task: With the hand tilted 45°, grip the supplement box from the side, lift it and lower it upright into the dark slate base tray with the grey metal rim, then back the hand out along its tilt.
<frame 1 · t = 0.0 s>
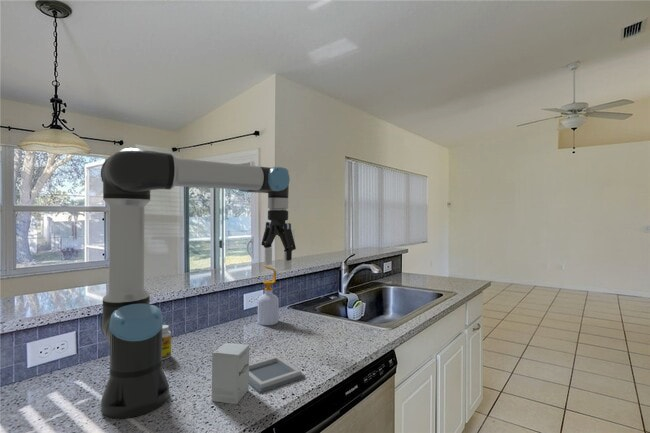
hand: (277, 266, 129), 28 cm above the countertop, tool pointing down, fingers open, 13 cm apart
slate base tray: (269, 374, 104), on the countertop
supplement box: (230, 396, 92), on the countertop
supplement bottle: (161, 358, 115), on the countertop
soap bottle: (268, 322, 152), on the countertop
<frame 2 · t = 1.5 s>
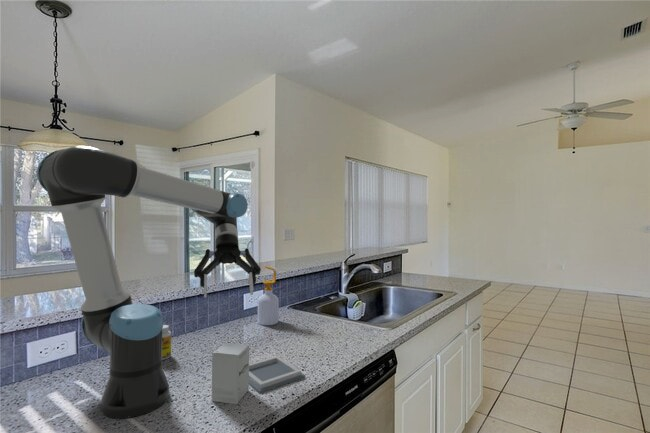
hand: (229, 293, 106), 24 cm above the countertop, tool tilted 45°, fingers open, 13 cm apart
nothing on the countertop moved.
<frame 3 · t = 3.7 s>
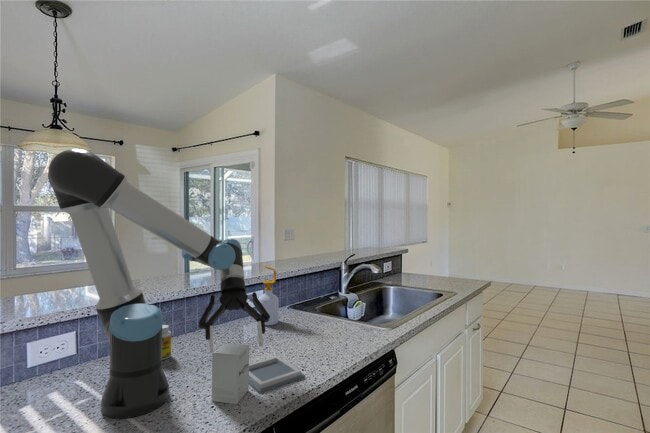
hand: (237, 347, 98), 10 cm above the countertop, tool tilted 45°, fingers open, 13 cm apart
nothing on the countertop moved.
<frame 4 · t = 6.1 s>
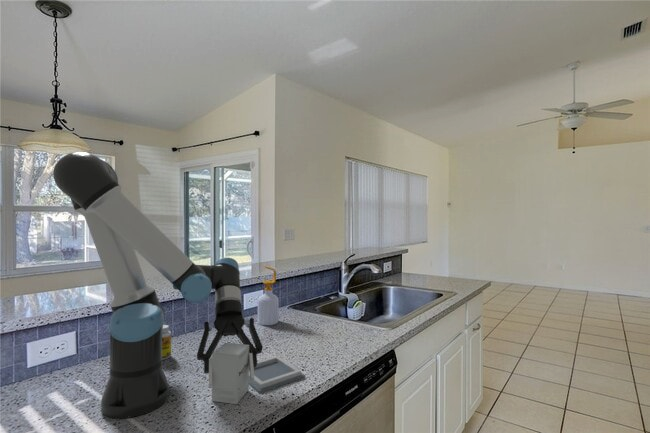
hand: (231, 382, 89), 5 cm above the countertop, tool tilted 45°, fingers closed on supplement box, 10 cm apart
supplement box: (230, 396, 92), on the countertop, touching gripper
everything else where it was.
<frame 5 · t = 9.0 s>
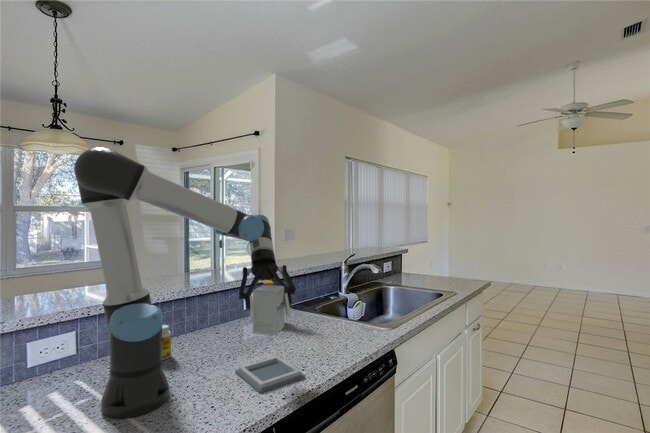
hand: (270, 316, 100), 19 cm above the countertop, tool tilted 45°, fingers closed on supplement box, 10 cm apart
supplement box: (269, 331, 103), point 13 cm above the countertop, touching gripper
everything else where it was.
when the fingers open (6 cm above the countertop, at t = 12.4 s): supplement box stays where it is, resting on slate base tray.
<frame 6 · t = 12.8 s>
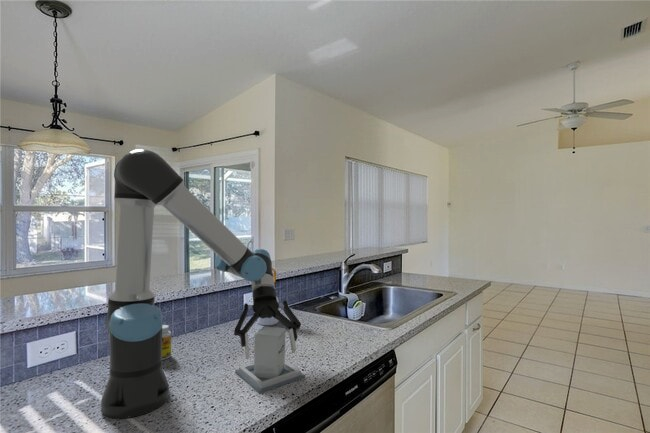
hand: (271, 354, 101), 7 cm above the countertop, tool tilted 45°, fingers open, 13 cm apart
supplement box: (269, 373, 104), resting on slate base tray
everything else where it was.
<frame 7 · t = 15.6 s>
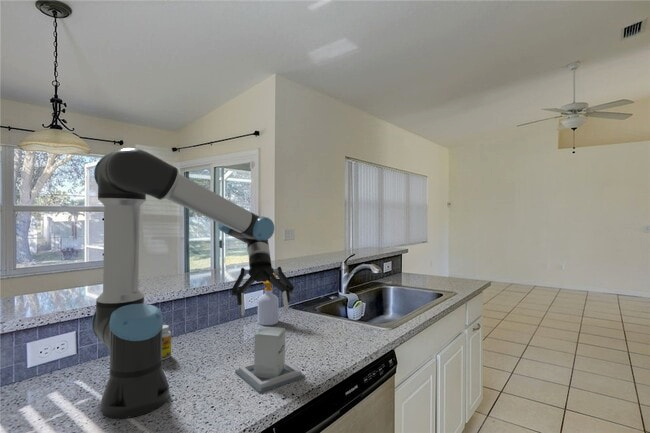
hand: (265, 312, 109), 17 cm above the countertop, tool tilted 45°, fingers open, 13 cm apart
nothing on the countertop moved.
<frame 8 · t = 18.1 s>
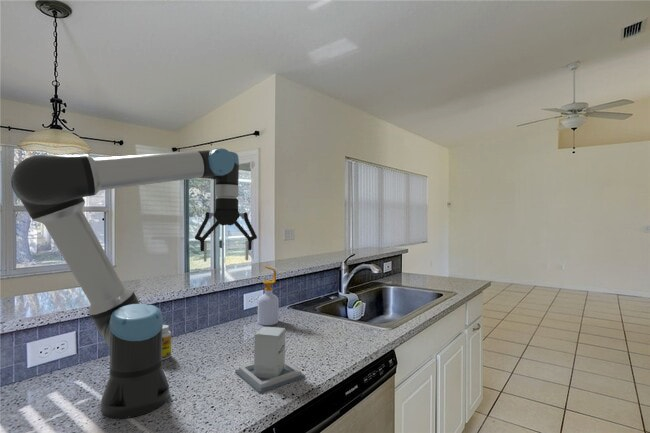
hand: (226, 260, 119), 32 cm above the countertop, tool pointing down, fingers open, 13 cm apart
nothing on the countertop moved.
at the end: supplement box 0.0 cm off-centre on the slate base tray, point 0.4 cm above the slate base tray's base; supplement box tilted 0°; the gripper is holding nothing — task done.
